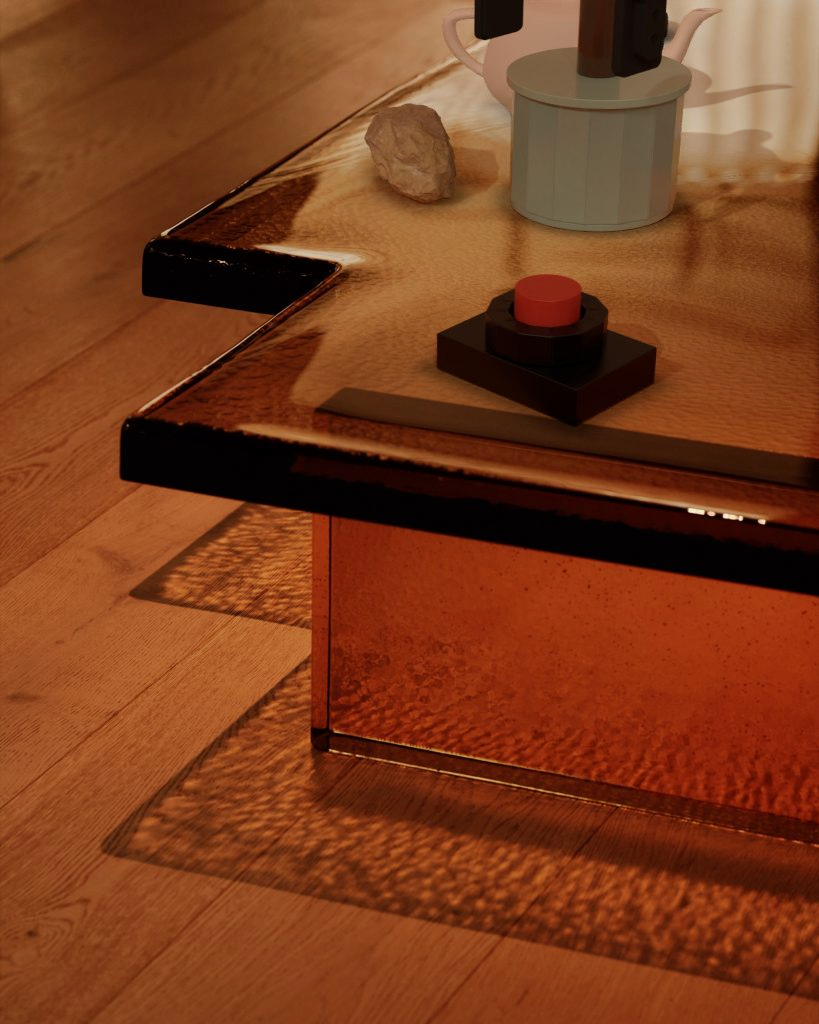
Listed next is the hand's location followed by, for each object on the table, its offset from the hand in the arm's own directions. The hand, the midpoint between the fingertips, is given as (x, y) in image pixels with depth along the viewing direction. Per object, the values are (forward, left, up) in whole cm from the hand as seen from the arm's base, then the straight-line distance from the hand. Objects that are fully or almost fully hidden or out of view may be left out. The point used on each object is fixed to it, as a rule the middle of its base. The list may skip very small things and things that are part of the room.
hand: (565, 52), depth 84 cm
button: (-2, +3, -13) cm, 14 cm away
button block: (-2, +3, -17) cm, 17 cm away
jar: (+13, -20, -17) cm, 29 cm away
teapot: (+27, -35, -17) cm, 47 cm away
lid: (+13, -20, -8) cm, 25 cm away
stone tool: (+25, -14, -17) cm, 33 cm away
